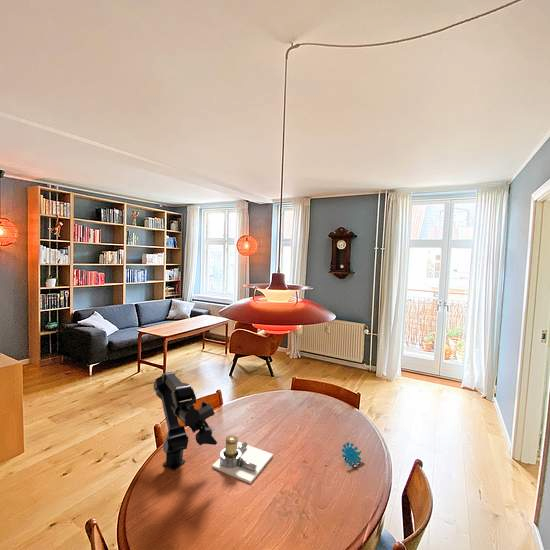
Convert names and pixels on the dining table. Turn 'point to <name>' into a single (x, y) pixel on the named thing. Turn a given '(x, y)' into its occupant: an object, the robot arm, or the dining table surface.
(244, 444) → the steel cradle
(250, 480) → the mounting plate
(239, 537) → the dining table surface
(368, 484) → the dining table surface
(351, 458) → the gear
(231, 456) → the cylinder
